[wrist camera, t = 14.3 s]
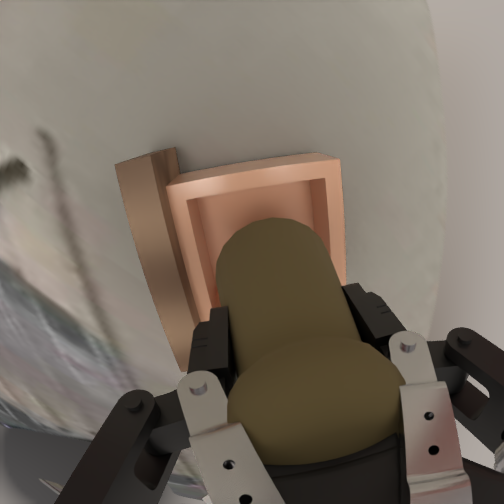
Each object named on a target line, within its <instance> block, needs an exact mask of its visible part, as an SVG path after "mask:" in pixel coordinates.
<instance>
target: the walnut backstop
mask: <svg viewBox="0 0 504 504" xmlns="http://www.w3.org/2000/svg"><path fill="white" fill-rule="evenodd" d="M115 169H116V173H117V177H118V182H119V186H120V190H121V194H122V198H123V202H124V206H125V210H126V214H127V217H128V221H129V225H130V228H131V232H132V235H133V239H134V242H135V246H136V249H137V252H138V256H139V259H140V262H141V265H142V268H143V271H144V275H145V278H146V281H147V284H148V287H149V290H150V292H151V295H152V298H153V301H154V304H155V307H156V309H157V312H158V315H159V318H160V320H161V323H162V326H163V328H164V331H165V333H166V336H167V339H168V341H169V344H170V346H171V349H172V351H173V354H174V356H175V358H176V361H177V363H178V366H179V368H180V370H181V372H185V371H188V364H189V357H190V350H191V343H192V336H193V330H194V329H195V328H196V326H197V325H198V324H199V322H201V321H200V318H199V314H198V311H197V307H196V304H195V301H194V297H193V294H192V290H191V287H190V283H189V279H188V276H187V272H186V268H185V265H184V261H183V257H182V253H181V249H180V245H179V241H178V237H177V233H176V229H175V225H174V221H173V217H172V213H171V208H170V204H169V200H168V195H167V191H166V186H167V185H168V184H169V183H170V182H171V181H172V180H174V179H175V178H176V177H177V176H178V175H179V174H180V169H179V164H178V159H177V154H176V149H175V147H174V148H169V149H165V150H161V151H156V152H152V153H149V154H145V155H142V156H139V157H136V158H133V159H130V160H127V161H124V162H121V163H118V164H115Z"/></svg>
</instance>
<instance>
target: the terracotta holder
mask: <svg viewBox="0 0 504 504" xmlns="http://www.w3.org/2000/svg"><path fill="white" fill-rule="evenodd" d="M166 191H167V195H168V200H169V204H170V208H171V213H172V217H173V221H174V225H175V229H176V233H177V237H178V241H179V245H180V249H181V253H182V257H183V261H184V265H185V268H186V272H187V276H188V279H189V283H190V287H191V290H192V294H193V297H194V301H195V304H196V307H197V311H198V314H199V318H200V321H201V322H204V321H209V317H210V309H211V308H216V307H221V303H220V299H219V294H218V289H217V284H216V279H215V278H216V262H217V259H218V257H219V255H220V252H221V250H222V248H223V246H224V244H225V243H226V242H227V241H228V240H229V239H230V238H231V237H232V235H233V234H234V233H235V232H236V231H238V230H240V229H241V228H243V227H245V226H246V225H248V224H250V223H252V222H254V221H258V220H263V219H267V218H272V217H274V218H286V219H293V220H295V221H297V222H300V223H302V224H304V225H307V226H309V227H310V228H311V229H312V230H313V231H314V232H315V233H316V234H317V235H318V236H319V237H321V239H322V241H323V243H324V245H325V247H326V249H327V251H328V253H329V255H330V258H331V260H332V263H333V265H334V268H335V270H336V273H337V275H338V278H339V280H340V283H341V285H342V286H344V285H346V251H345V225H344V206H343V192H342V179H341V167H340V159H338V158H335V157H331V156H328V155H324V154H321V153H317V152H314V153H305V154H297V155H289V156H281V157H274V158H267V159H260V160H254V161H247V162H241V163H235V164H229V165H224V166H218V167H213V168H207V169H202V170H197V171H192V172H187V173H182V174H179V175H178V176H177V177H176V178H175V179H174V180H172V181H171V182H170V183H169V184H168V185H167V186H166Z"/></svg>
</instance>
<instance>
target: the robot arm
mask: <svg viewBox="0 0 504 504" xmlns="http://www.w3.org/2000/svg"><path fill="white" fill-rule="evenodd" d="M341 288H342V290H343V293H344V295H345V298H346V300H347V302H348V305H349V307H350V310H351V313H352V315H353V318H354V320H355V323H356V326H357V329H358V332H359V334H360V337H361V340H362V342H364V343H368V344H370V345H371V346H372V347H374V348H375V349H376V350H377V351H379V352H380V353H381V354H382V355H384V356H385V357H386V358H387V359H388V360H390V361H391V362H392V363H393V364H394V365H396V367H397V368H398V370H399V371H400V373H401V375H402V376H403V378H404V379H405V382H406V384H405V385H400V386H399V388H400V416H399V422H398V429H399V438H398V435H397V433H396V432H395V433H394V434H392V435H390V436H389V437H387V438H385V439H383V440H382V441H380V442H378V443H376V444H374V445H372V446H370V447H368V448H366V449H363V450H361V451H358V452H356V453H353V454H350V455H347V456H343V457H340V458H336V459H332V460H328V461H323V462H317V463H311V464H302V465H264V464H262V462H261V460H260V458H259V456H258V455H257V453H256V451H255V449H254V447H253V445H252V443H251V442H250V440H249V438H248V436H247V434H246V432H245V430H244V428H243V426H242V424H241V423H240V422H239V421H235V422H233V423H230V424H229V423H228V422H227V403H228V399H227V398H228V395H229V393H230V391H231V389H232V388H233V386H234V384H235V383H236V381H237V375H236V370H235V366H234V362H233V355H232V346H231V336H230V327H229V316H228V306H223V307H216V308H211V309H210V317H209V321H204V322H199V324H198V325H197V326H196V328H195V329H194V330H193V336H192V343H191V350H190V357H189V364H188V371H187V375H186V376H184V377H183V378H182V379H181V380H180V381H179V383H178V385H177V389H176V390H174V391H172V392H170V393H167V394H164V395H161V396H157V397H153V395H152V394H151V393H150V392H148V391H145V390H133V391H130V392H128V393H126V394H124V395H123V396H122V397H121V398H120V399H119V400H118V402H117V403H116V405H115V406H114V408H113V410H112V411H111V413H110V414H109V416H108V417H107V419H106V420H105V422H104V424H103V425H102V427H101V428H100V430H99V431H98V433H97V435H96V436H95V438H94V439H93V441H92V443H91V444H90V446H89V448H88V449H87V451H86V452H85V454H84V455H83V457H82V459H81V460H80V462H79V463H78V465H77V467H76V468H75V470H74V472H73V473H72V475H71V477H70V478H69V480H68V482H67V483H66V485H65V486H64V488H63V490H62V491H61V493H60V495H59V497H58V498H57V500H56V502H55V503H54V504H158V502H159V500H160V498H161V496H162V493H163V491H164V489H165V486H166V484H167V482H168V480H169V477H170V475H171V473H172V470H173V468H174V466H175V463H176V461H177V459H178V456H179V454H180V452H181V450H182V449H186V448H189V447H191V448H192V451H193V454H194V457H195V459H196V462H197V465H198V468H199V471H200V473H201V476H202V479H203V482H204V484H205V487H206V489H207V492H208V494H209V497H210V499H211V502H212V504H504V351H503V350H501V349H500V348H498V347H497V346H496V345H494V344H492V343H491V342H490V341H488V340H487V339H485V338H484V337H482V336H481V335H479V334H478V333H476V332H475V331H473V330H471V329H468V328H463V327H460V328H455V329H453V330H451V331H450V332H449V333H448V335H447V339H446V340H445V341H426V340H425V338H424V337H423V336H422V335H420V334H419V333H416V332H413V331H407V330H406V329H405V327H404V326H403V325H402V324H401V322H400V321H399V320H398V318H397V317H396V316H395V314H394V313H393V312H391V309H390V308H389V307H388V306H387V304H386V303H385V302H384V300H383V299H382V298H381V297H380V296H378V295H376V294H374V293H373V292H368V293H366V292H365V291H364V290H363V288H362V287H361V286H360V284H359V283H354V284H349V285H344V286H341ZM469 375H470V376H471V377H473V378H474V379H475V380H477V381H478V382H479V383H480V384H482V385H483V386H484V387H485V388H486V389H487V390H488V392H489V396H490V397H489V398H488V397H487V396H486V395H485V394H483V393H482V392H481V391H479V390H478V389H477V388H476V387H475V386H473V385H472V384H471V383H470V382H468V381H467V378H468V376H469ZM455 418H456V419H457V420H458V421H459V422H460V423H461V424H462V425H463V426H464V427H465V428H467V429H468V430H469V431H470V432H471V433H472V434H473V435H474V436H475V437H476V438H477V439H479V440H480V441H481V442H482V443H483V444H484V445H485V446H486V447H487V448H488V449H489V450H490V451H492V452H493V453H494V454H495V464H494V469H495V470H493V469H491V468H488V467H486V466H483V465H480V464H478V463H475V462H473V461H470V460H468V459H465V458H463V457H462V456H461V450H460V444H459V438H458V433H457V428H456V423H455Z"/></svg>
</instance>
